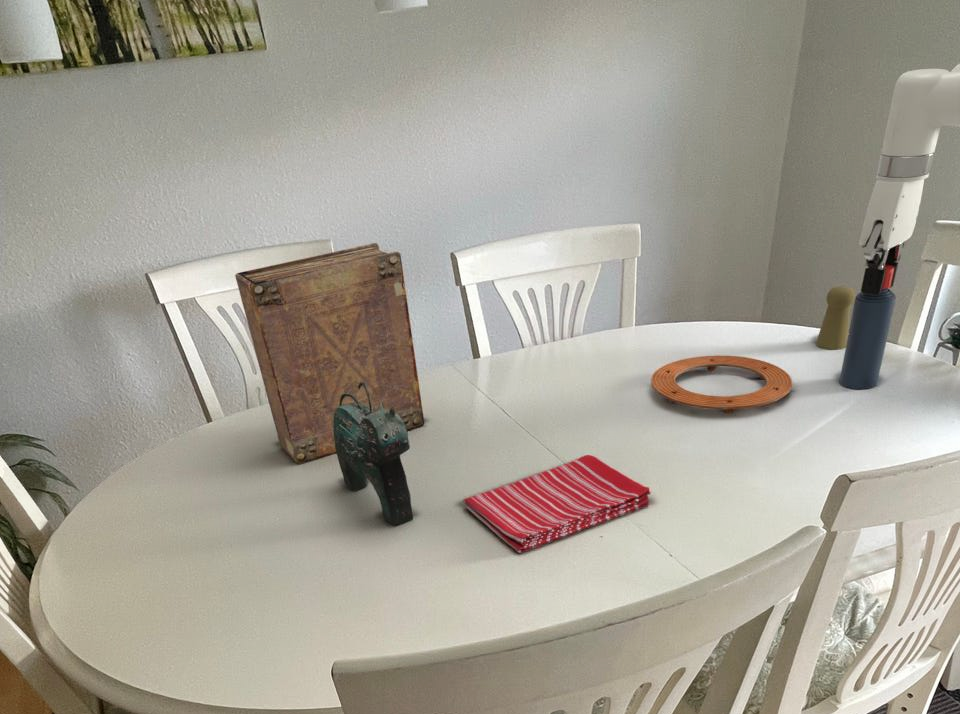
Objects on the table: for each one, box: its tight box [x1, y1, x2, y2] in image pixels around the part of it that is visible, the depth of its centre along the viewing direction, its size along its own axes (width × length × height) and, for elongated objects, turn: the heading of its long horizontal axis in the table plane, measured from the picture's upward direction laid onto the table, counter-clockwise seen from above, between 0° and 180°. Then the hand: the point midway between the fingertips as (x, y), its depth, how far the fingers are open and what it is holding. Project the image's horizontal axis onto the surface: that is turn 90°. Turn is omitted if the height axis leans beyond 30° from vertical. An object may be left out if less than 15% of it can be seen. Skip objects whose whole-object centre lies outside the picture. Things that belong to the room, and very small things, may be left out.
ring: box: [650, 355, 793, 414], centre depth 146 cm, size 25×25×2 cm
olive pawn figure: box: [815, 285, 856, 350], centre depth 156 cm, size 6×6×11 cm
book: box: [234, 242, 425, 465], centre depth 135 cm, size 25×9×30 cm, turn 120°
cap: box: [882, 265, 894, 289], centre depth 132 cm, size 4×4×3 cm
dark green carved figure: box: [333, 382, 414, 527], centre depth 117 cm, size 20×6×20 cm, turn 33°
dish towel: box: [462, 454, 651, 554], centre depth 117 cm, size 17×24×3 cm
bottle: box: [838, 288, 897, 390], centre depth 138 cm, size 6×6×19 cm
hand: (876, 288), depth 134 cm, fingers closed on cap, 3 cm apart
